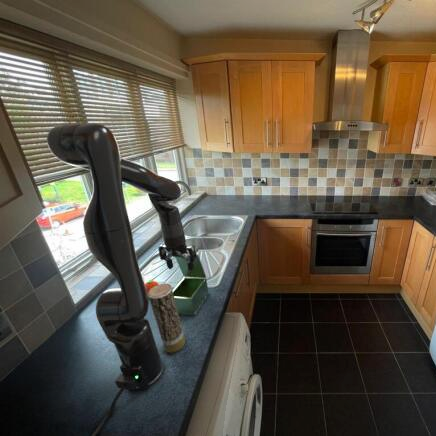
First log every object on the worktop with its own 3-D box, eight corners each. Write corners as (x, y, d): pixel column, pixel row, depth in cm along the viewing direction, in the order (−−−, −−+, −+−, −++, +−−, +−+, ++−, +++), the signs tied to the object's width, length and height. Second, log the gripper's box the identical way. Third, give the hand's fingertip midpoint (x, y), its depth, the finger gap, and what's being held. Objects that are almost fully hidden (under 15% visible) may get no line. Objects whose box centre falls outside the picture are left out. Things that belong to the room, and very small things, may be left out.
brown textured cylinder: (179, 334, 90) (165, 280, 81) (188, 344, 86) (175, 289, 77) (161, 346, 86) (144, 291, 76) (170, 357, 82) (153, 300, 72)
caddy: (194, 315, 99) (191, 299, 96) (171, 313, 100) (166, 297, 97) (208, 293, 111) (206, 278, 108) (187, 292, 112) (184, 276, 109)
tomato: (147, 289, 114) (143, 277, 112) (163, 287, 116) (159, 275, 113) (142, 300, 107) (138, 288, 104) (158, 298, 109) (155, 285, 106)
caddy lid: (197, 255, 99) (203, 245, 104) (173, 253, 100) (180, 244, 105) (205, 278, 107) (210, 268, 112) (183, 276, 109) (189, 266, 114)
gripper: (149, 236, 88) (159, 273, 94) (185, 238, 86) (193, 275, 92) (161, 228, 95) (170, 262, 101) (195, 229, 93) (201, 264, 99)
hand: (181, 268), depth 97 cm, fingers open, 8 cm apart
